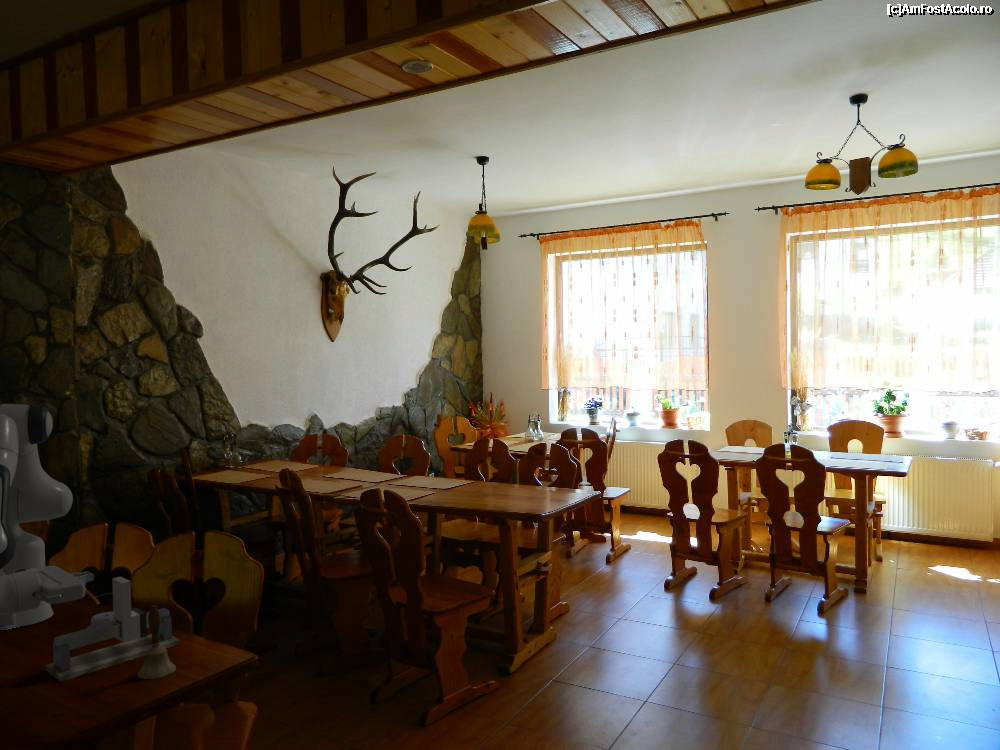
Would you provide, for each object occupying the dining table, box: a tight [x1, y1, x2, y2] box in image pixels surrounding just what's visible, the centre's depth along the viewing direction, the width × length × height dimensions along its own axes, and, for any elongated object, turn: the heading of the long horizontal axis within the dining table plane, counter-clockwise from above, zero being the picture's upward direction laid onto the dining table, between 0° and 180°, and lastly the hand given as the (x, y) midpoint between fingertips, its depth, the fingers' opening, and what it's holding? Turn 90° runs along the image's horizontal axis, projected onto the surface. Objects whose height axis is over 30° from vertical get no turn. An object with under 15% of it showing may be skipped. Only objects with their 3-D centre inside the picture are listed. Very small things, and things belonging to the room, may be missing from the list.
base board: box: [45, 633, 181, 683], centre depth 181 cm, size 28×10×1 cm, turn 139°
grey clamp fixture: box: [52, 607, 173, 672], centre depth 181 cm, size 26×5×7 cm, turn 139°
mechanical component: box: [85, 610, 114, 629], centre depth 199 cm, size 10×4×10 cm
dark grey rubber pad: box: [131, 607, 148, 638], centre depth 185 cm, size 2×6×6 cm, turn 49°
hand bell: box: [137, 604, 177, 680], centre depth 172 cm, size 8×8×16 cm
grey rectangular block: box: [111, 576, 140, 643], centre depth 183 cm, size 4×6×15 cm, turn 49°
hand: (91, 575), depth 177 cm, fingers closed
